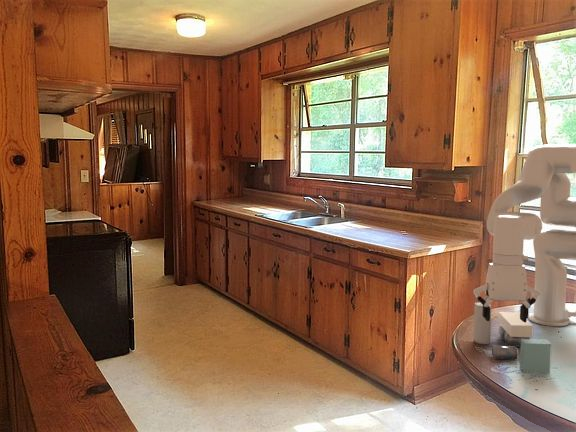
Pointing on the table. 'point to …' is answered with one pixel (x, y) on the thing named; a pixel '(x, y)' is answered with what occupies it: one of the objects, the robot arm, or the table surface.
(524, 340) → the block
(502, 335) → the cylinder
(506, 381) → the table surface
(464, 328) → the table surface
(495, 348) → the roller
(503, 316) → the slab
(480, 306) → the beverage can
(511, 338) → the cylinder
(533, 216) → the robot arm
